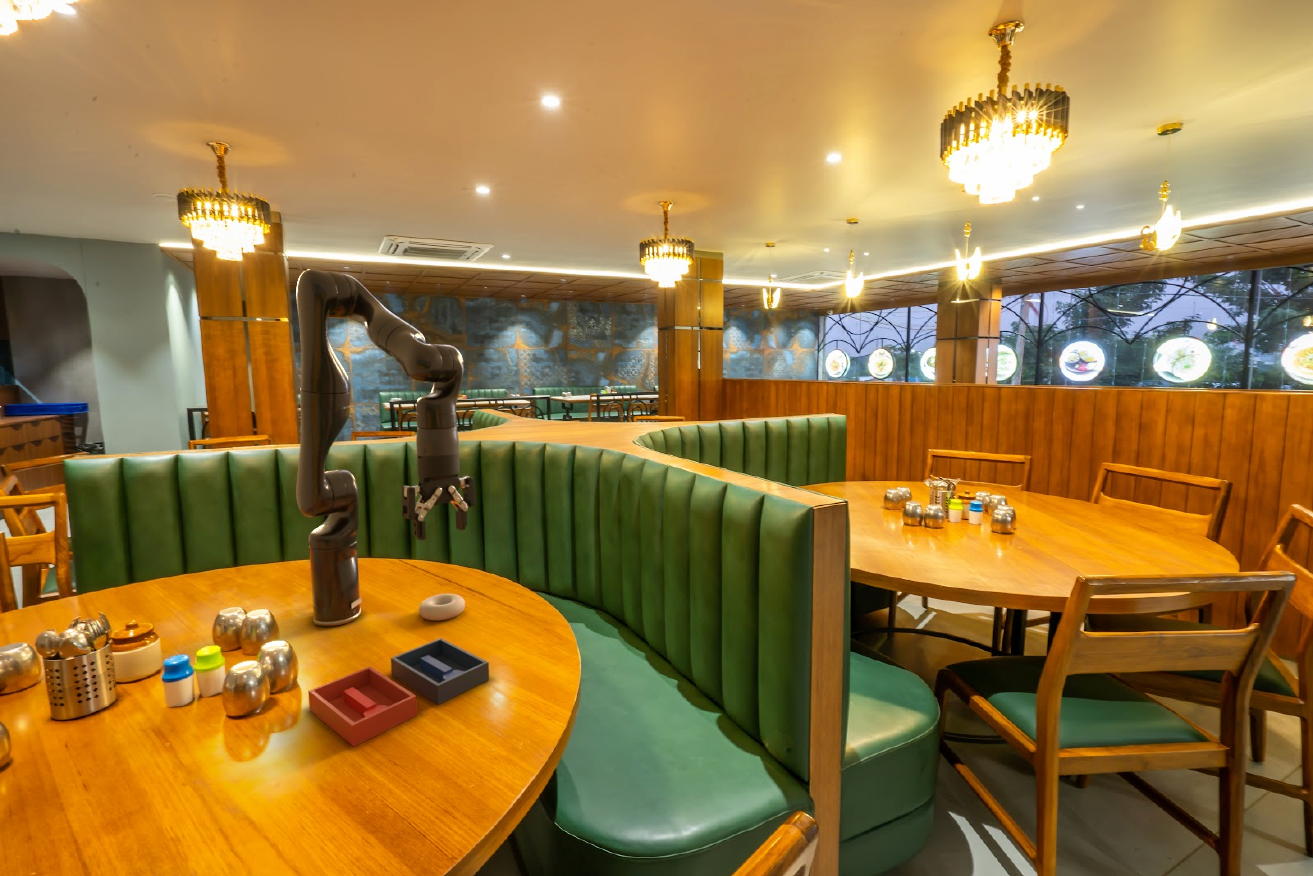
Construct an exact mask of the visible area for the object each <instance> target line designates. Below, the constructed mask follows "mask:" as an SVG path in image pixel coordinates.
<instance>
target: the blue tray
mask: <svg viewBox="0 0 1313 876" xmlns="http://www.w3.org/2000/svg"><path fill="white" fill-rule="evenodd" d="M427 655H429V656H431V657H433V658H434V659H436V660H438V661H440V662H442V663H443V664H445V665H447V666H449V667H451V668H452V669H453V670H461V671H463V673H460V674H458V675H456V676H454V677H452V678H450V679H447V680H445V681H442V680H440V679H438V678H437V677H435V676H433V675H432V674H430V673H428V672H426V671H425V670H423V669H421V663H420V658H422V657H424V656H427ZM390 669H391V671H390V672H391V676H392V677H393V678H395V679H397V680H398V681H400V682H401V683H403V684H404V685H406V686H407V687H409V688H410V689H412V690H414V691H415V692H417V693H419V694H420V695H422V696H423V697H424V698H427V699H428V700H429V701H432V702H433V703H435V704H436V705H438V706H439V705H442V704H443V703H445V702H447V701H450V700H452V699H453V698H456V697H458V696H459V695H462V694H463V693H466V692H467V691H470V690H471V689H473V688H476V687H478V686H480V685H482V684H484V683H486V682H488V681H490V663H489V662H488V661H487V660H485V659H483V658H482V657H479V656H477V655H475V654H473V653H471V652H469V651H467V650H465V649H463V648H461V647H459V646H457V645H456V644H453V643H451V642H450V641H447V640H446V639H443V638H442V637H440V638H438V639H435V640H432V641H430V642H428V643H425V644H423V645H421V646H416V647H415V648H413V649H410V650H408V651H407V650H406V651H405V652H402V653H400V654H397V655H395V656H391V657H390Z"/></svg>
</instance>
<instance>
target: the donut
mask: <svg viewBox="0 0 1313 876" xmlns="http://www.w3.org/2000/svg"><path fill="white" fill-rule="evenodd" d="M465 608H466V600H465V599H464V598H463V597H462V596H461V595H459V594H455V593H440V594H435V595H432V596H431V595H430V596H429V597H427V598H425V599H424V600H423V601H421V602H420V604H419V606H418V612H419V615H420V616H421V617H422V618H423V619H425V620H427V621H434V622H435V621H446V620H450V619H453V618H455V617H458V616H460V614H462V612H464V611H465Z"/></svg>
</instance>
